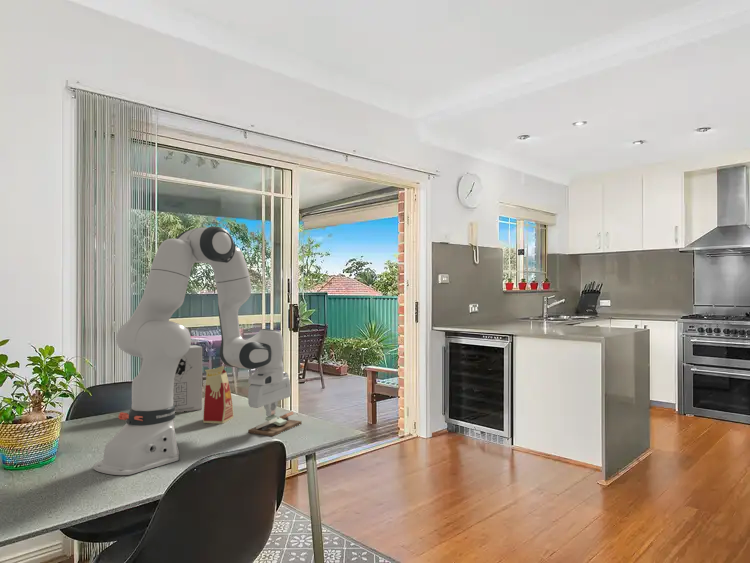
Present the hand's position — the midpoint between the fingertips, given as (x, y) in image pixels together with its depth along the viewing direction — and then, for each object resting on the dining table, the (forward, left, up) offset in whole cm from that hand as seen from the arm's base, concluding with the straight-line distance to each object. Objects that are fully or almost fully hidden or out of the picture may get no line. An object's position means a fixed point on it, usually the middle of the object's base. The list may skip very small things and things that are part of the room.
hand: (270, 415), depth 180 cm
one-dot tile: (-5, -2, -2) cm, 6 cm away
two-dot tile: (0, -2, -2) cm, 3 cm away
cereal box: (+3, +50, -4) cm, 50 cm away
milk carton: (0, +24, -4) cm, 24 cm away
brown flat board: (0, -2, -4) cm, 5 cm away
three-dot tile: (+5, -2, -2) cm, 6 cm away
